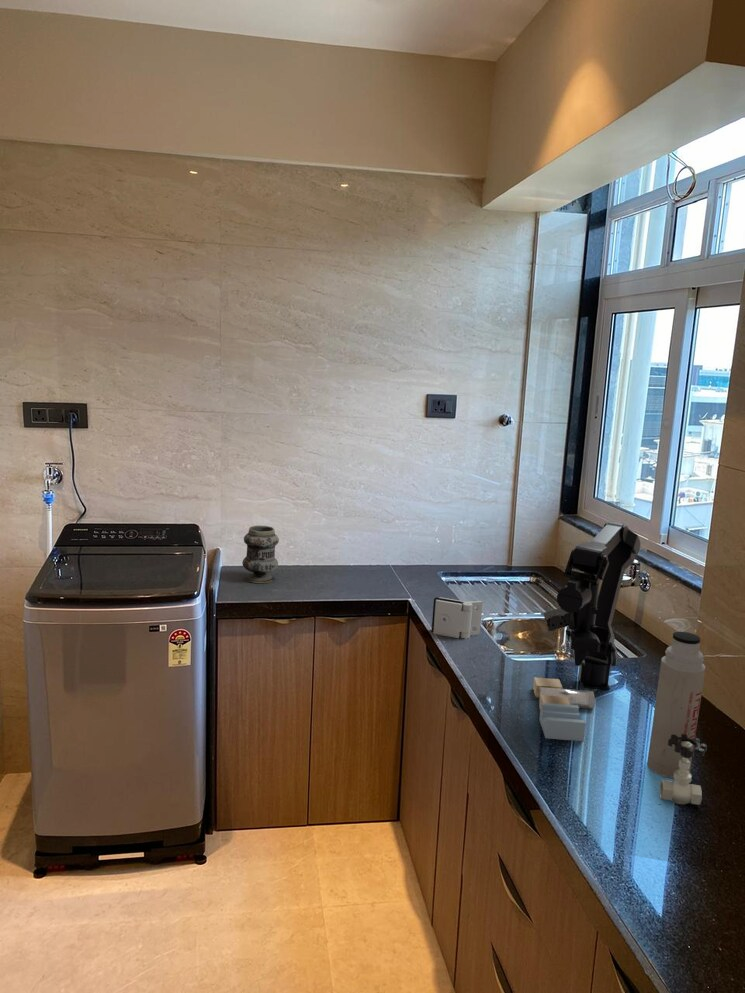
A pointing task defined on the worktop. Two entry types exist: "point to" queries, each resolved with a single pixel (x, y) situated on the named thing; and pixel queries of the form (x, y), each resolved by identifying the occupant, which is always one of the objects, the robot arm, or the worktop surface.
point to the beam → (549, 684)
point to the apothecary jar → (260, 553)
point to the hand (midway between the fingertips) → (577, 665)
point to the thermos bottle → (676, 701)
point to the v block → (562, 722)
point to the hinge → (456, 617)
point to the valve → (683, 772)
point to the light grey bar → (571, 696)
